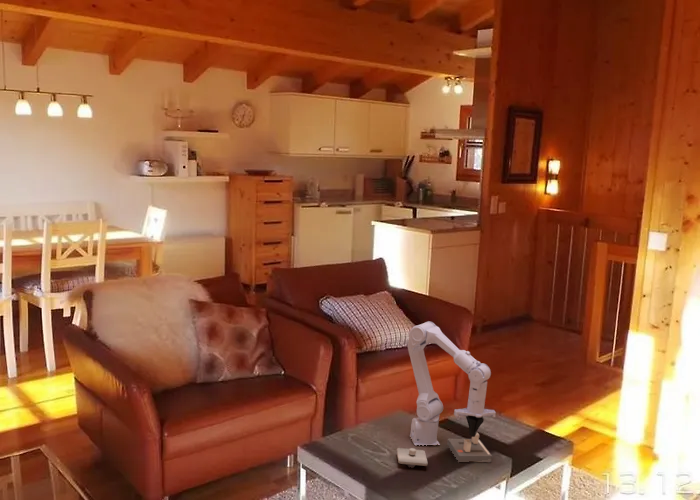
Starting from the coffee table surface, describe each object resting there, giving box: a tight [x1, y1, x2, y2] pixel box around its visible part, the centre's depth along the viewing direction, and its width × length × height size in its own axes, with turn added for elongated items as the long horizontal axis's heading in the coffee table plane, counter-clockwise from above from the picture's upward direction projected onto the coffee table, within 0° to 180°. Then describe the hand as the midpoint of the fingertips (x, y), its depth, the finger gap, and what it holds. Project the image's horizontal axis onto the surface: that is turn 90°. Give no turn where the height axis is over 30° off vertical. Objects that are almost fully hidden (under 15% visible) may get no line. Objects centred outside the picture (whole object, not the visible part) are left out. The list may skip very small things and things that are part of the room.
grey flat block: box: [446, 438, 493, 463], centre depth 233 cm, size 12×13×2 cm
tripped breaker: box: [463, 438, 471, 452], centre depth 229 cm, size 2×3×4 cm
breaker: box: [471, 431, 480, 444], centre depth 236 cm, size 2×3×4 cm
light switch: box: [396, 447, 428, 469], centre depth 222 cm, size 10×10×5 cm
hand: (472, 435), depth 229 cm, fingers closed
